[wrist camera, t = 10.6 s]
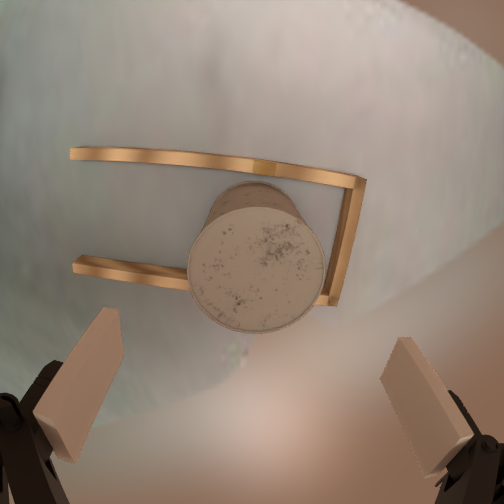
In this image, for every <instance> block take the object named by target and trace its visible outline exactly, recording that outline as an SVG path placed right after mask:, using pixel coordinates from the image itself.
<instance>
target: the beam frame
mask: <svg viewBox="0 0 504 504" xmlns="http://www.w3.org/2000/svg"><path fill="white" fill-rule="evenodd" d="M70 159H72V160H108V161H129V162H146V163H160V164H173V165H185V166H196V167H206V168H215V169H225V170H233V171H242V172H250V173H253V174H260V175H267V176H274V177H275V176H279V177H286V178H292V179H299V180H305V181H311V182H317V183H323V184H329V185H334V186H340V187H345V192H344V198H343V203H342V208H341V213H340V218H339V223H338V227H337V232H336V237H335V241H334V246H333V250H332V255H331V259H330V263H329V268H328V272H327V276H326V280H325V284H324V286H323V288H322V291H321V294H320V296H319V298H318V299H317V301H316V303H315V304H314V305H326V306H337V304H338V300H339V297H340V293H341V289H342V286H343V282H344V278H345V274H346V270H347V266H348V262H349V258H350V254H351V250H352V246H353V242H354V238H355V233H356V229H357V224H358V220H359V215H360V210H361V206H362V201H363V196H364V191H365V186H366V180H367V179H365V178H362V177H359V176H356V175H351V174H346V173H340V172H335V171H330V170H324V169H319V168H313V167H307V166H301V165H295V164H289V163H282V162H275V161H268V160H261V159H253V158H246V157H237V156H229V155H220V154H210V153H200V152H188V151H176V150H161V149H144V148H122V147H75V148H70ZM72 264H73V273H78V274H84V275H90V276H96V277H101V278H108V279H114V280H120V281H126V282H133V283H139V284H146V285H153V286H160V287H167V288H174V289H181V290H189V291H191V290H190V287H189V284H188V279H187V270H185V269H177V268H169V267H162V266H154V265H147V264H140V263H133V262H125V261H118V260H111V259H105V258H98V257H91V256H84V255H82V256H80V257H79V258H78V259H77V260H75V261H74V262H73V263H72Z"/></svg>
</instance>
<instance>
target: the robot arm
mask: <svg viewBox="0 0 504 504" xmlns="http://www.w3.org/2000/svg"><path fill="white" fill-rule="evenodd" d="M123 357H124V354H123V346H122V337H121V327H120V317H119V310H118V309H113V308H107V307H103V308H102V310H101V311H100V313H99V314H98V315H97V317H96V318H95V319H94V321H93V322H92V323H91V325H90V326H89V328H88V329H87V330H86V332H85V333H84V335H83V336H82V337H81V339H80V340H79V342H78V343H77V344H76V346H75V347H74V349H73V350H72V352H71V353H70V355H69V356H68V357H67V359H66V360H65V362H64V363H63V362H59V361H56V360H53V361H52V362H50V363H49V364H47V365H46V366H44V368H43V369H42V371H41V372H40V373H39V375H38V377H37V378H36V379H35V381H34V383H33V384H32V385H31V386H30V388H29V389H28V391H27V392H26V394H25V395H24V397H23V398H22V400H21V401H20V403H19V401H18V399H17V398H16V397H15V396H14V395H12V394H9V393H0V504H9V492H8V483H9V486H10V490H11V493H12V496H13V499H14V502H15V504H70V503H69V501H68V499H67V497H66V495H65V492H64V490H63V488H62V485H61V483H60V481H59V478H58V476H57V473H56V471H55V468H54V466H53V463H52V461H51V459H50V455H51V453H52V451H54V452H55V454H56V456H57V457H58V458H60V459H62V460H65V461H67V462H70V463H73V464H76V462H77V459H78V457H79V454H80V452H81V450H82V447H83V445H84V443H85V440H86V438H87V436H88V433H89V431H90V429H91V426H92V424H93V422H94V420H95V417H96V415H97V413H98V411H99V408H100V406H101V404H102V402H103V400H104V397H105V395H106V393H107V391H108V389H109V387H110V384H111V382H112V380H113V378H114V376H115V374H116V372H117V370H118V368H119V366H120V364H121V362H122V359H123ZM380 380H381V382H382V384H383V386H384V388H385V390H386V393H387V394H388V397H389V399H390V401H391V403H392V405H393V408H394V409H395V412H396V414H397V416H398V419H399V421H400V423H401V425H402V427H403V430H404V432H405V434H406V437H407V439H408V441H409V444H410V446H411V448H412V451H413V453H414V455H415V458H416V460H417V462H418V465H419V467H420V470H421V472H422V475H423V477H424V478H428V477H432V476H435V475H438V474H439V473H440V472H441V471H442V470H443V469H444V468H445V467H446V468H447V470H448V472H447V474H445V475H444V476H443V477H442V478H441V479H440V480H439V481H438V482H437V483H436V485H435V487H437V486H438V485H439V484H440V483H441V482H442V485H441V487H440V490H439V493H438V496H437V499H436V501H435V504H504V443H498V441H497V440H496V439H495V438H494V437H492V436H490V435H482V434H481V432H480V431H479V429H478V427H477V426H476V424H475V422H474V421H473V419H472V418H471V416H470V414H469V413H467V410H466V408H465V407H463V403H462V402H461V400H460V399H459V397H458V396H457V395H455V394H454V393H453V392H452V391H451V390H449V391H447V389H446V388H445V386H444V385H443V383H442V382H441V380H440V379H439V377H438V376H437V374H436V373H435V371H434V370H433V368H432V367H431V365H430V364H429V363H428V361H427V359H426V358H425V356H424V355H423V354H422V352H421V351H420V349H419V348H418V346H417V345H416V343H415V342H414V341H413V339H412V338H411V337H398V340H397V342H396V345H395V347H394V349H393V351H392V353H391V356H390V358H389V360H388V362H387V365H386V367H385V369H384V372H383V373H382V375H381V377H380Z"/></svg>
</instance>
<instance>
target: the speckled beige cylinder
mask: <svg viewBox="0 0 504 504" xmlns="http://www.w3.org/2000/svg"><path fill="white" fill-rule="evenodd" d="M325 274H326V265H325V257H324V253H323V251H322V248H321V245H320V243H319V241H318V239H317V238H316V236H315V235H314V234H313V232H312V231H311V229H310V228H309V227H308V226H307V225H306V223H305V222H304V220H303V218H302V217H301V215H300V214H299V212H298V211H297V209H296V207H295V205H294V203H293V202H292V200H291V199H290V198H289V196H288V195H287V194H285V193H284V192H283V191H282V190H281V189H279V188H277V187H275V186H274V185H272V184H269V183H265V182H261V181H248V182H243V183H239V184H237V185H234V186H232V187H230V188H228V189H227V190H226V191H225V192H223V193H222V194H221V195H220V196H219V197H218V199H217V200H216V201H215V202H214V205H213V207H212V209H211V211H210V214H209V216H208V218H207V220H206V222H205V225H204V227H203V229H202V231H201V233H200V234H199V235H198V237H197V238H196V240H195V242H194V244H193V246H192V248H191V250H190V253H189V258H188V263H187V279H188V284H189V287H190V290H191V294H192V296H193V298H194V299H195V301H196V303H197V304H198V306H199V307H200V308H201V310H202V311H203V312H204V313H205V314H206V315H207V316H208V317H209V318H211V319H212V320H214V321H215V322H217V323H218V324H220V325H221V326H224V327H226V328H228V329H231V330H233V331H238V332H243V333H247V334H263V333H269V332H274V331H277V330H280V329H283V328H286V327H288V326H290V325H292V324H293V323H295V322H296V321H298V320H300V319H301V318H302V317H303V316H304V315H305V314H306V313H307V312H308V311H309V310H311V309H312V307H313V306H314V304H315V303H316V301H317V299H318V298H319V296H320V294H321V291H322V288H323V286H324V282H325Z"/></svg>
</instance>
